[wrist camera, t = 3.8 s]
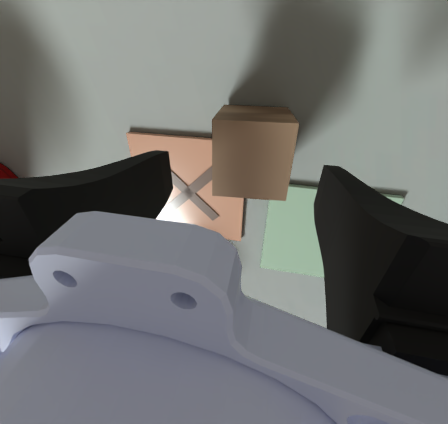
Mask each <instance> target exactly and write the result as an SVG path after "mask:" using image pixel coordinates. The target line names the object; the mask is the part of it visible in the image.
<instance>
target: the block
mask: <svg viewBox="0 0 448 424" xmlns="http://www.w3.org/2000/svg"><path fill="white" fill-rule="evenodd" d="M298 128H299V123H298V121H297V120H296V118H295V117H294V116H293V114H292V113H291V111H290V110H289V109H288V107H267V106H242V105H224V106H223V107H222V108H221V109H220V110H219V112H218V113H217V114H216V115H215V117H214V118H213V119H212V196H223V197H236V198H250V199H264V200H278V201H286V198H287V192H288V186H289V180H290V174H291V169H292V163H293V157H294V151H295V145H296V139H297V133H298Z"/></svg>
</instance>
